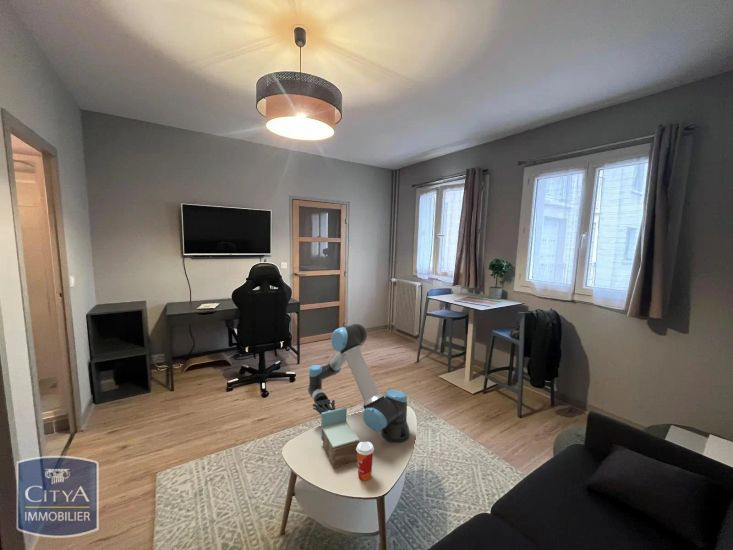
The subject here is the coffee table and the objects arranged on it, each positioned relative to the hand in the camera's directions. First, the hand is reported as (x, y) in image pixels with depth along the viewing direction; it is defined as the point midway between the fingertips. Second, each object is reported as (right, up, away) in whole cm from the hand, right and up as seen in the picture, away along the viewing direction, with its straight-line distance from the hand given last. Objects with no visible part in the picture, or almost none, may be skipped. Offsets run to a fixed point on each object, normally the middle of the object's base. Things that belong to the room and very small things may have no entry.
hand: (333, 419), depth 155 cm
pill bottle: (+16, -14, -23) cm, 32 cm away
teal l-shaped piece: (+4, -10, -8) cm, 13 cm away
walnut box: (+5, -13, -9) cm, 16 cm away
